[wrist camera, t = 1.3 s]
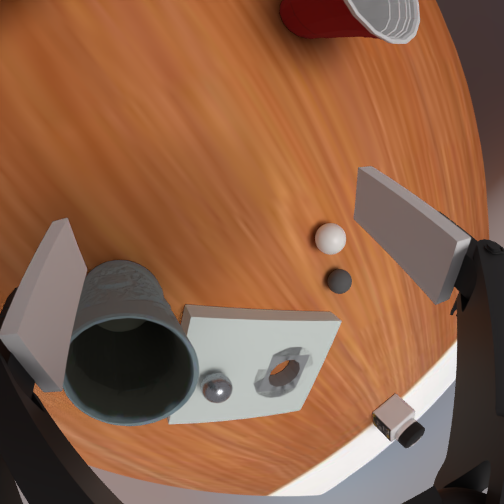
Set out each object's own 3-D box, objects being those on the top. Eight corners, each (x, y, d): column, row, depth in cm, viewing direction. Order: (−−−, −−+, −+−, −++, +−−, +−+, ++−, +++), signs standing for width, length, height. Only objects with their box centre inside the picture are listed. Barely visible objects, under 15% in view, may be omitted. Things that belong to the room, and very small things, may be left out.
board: (164, 410, 36) (168, 424, 34) (185, 304, 32) (191, 316, 30) (292, 399, 46) (300, 410, 44) (330, 311, 42) (341, 320, 40)
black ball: (319, 286, 39) (334, 297, 37) (327, 264, 39) (342, 274, 36) (336, 288, 41) (351, 298, 38) (344, 266, 40) (359, 276, 37)
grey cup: (131, 354, 32) (151, 439, 22) (52, 308, 26) (36, 393, 16) (187, 285, 32) (228, 358, 22) (106, 227, 26) (104, 286, 16)
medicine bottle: (371, 412, 60) (405, 445, 50) (395, 392, 62) (430, 423, 52) (373, 424, 64) (404, 455, 54) (395, 406, 65) (427, 434, 55)
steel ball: (194, 389, 34) (203, 410, 31) (200, 366, 33) (210, 387, 30) (222, 388, 35) (233, 408, 32) (229, 366, 35) (241, 385, 32)
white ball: (305, 246, 36) (322, 256, 33) (314, 216, 35) (333, 225, 32) (327, 250, 38) (346, 260, 35) (337, 222, 37) (356, 231, 34)
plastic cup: (349, 64, 30) (434, 54, 20) (263, 59, 27) (343, 30, 16) (337, -16, 26) (414, -44, 16) (252, -31, 22) (320, -84, 12)
